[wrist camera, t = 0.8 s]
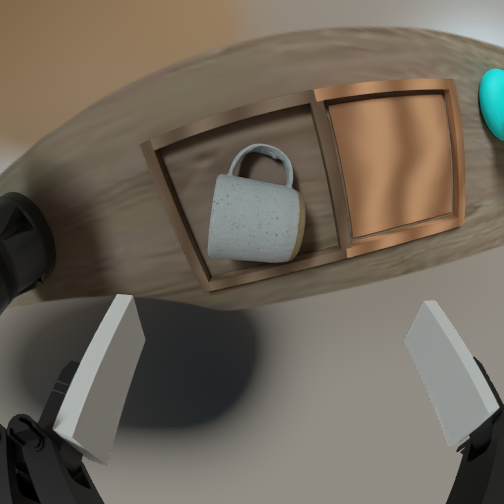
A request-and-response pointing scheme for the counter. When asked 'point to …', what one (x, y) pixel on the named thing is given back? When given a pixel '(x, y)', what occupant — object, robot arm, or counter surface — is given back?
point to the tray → (353, 169)
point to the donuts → (493, 101)
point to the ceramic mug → (256, 215)
